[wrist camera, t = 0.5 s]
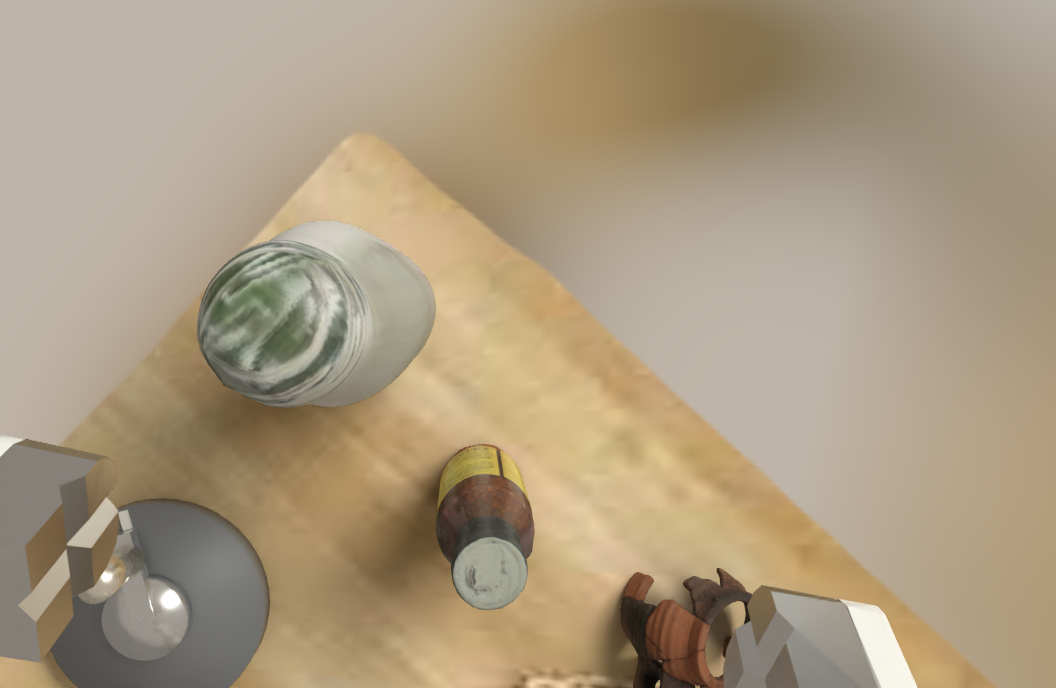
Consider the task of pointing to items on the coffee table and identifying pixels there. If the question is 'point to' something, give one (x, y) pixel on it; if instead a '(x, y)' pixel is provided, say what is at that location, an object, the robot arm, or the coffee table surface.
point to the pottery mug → (677, 630)
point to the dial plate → (213, 589)
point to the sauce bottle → (485, 526)
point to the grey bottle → (315, 317)
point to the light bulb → (139, 604)
